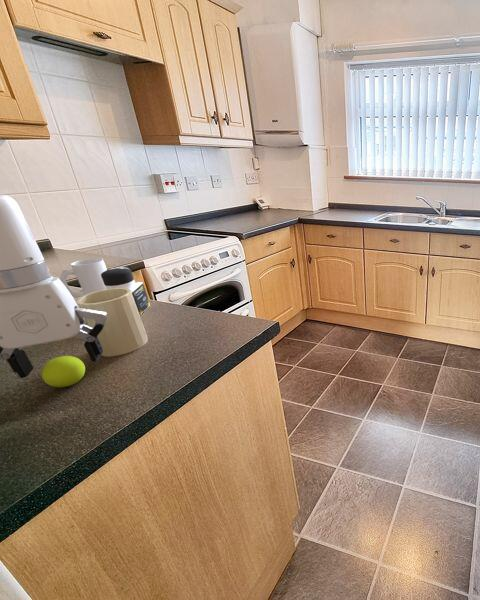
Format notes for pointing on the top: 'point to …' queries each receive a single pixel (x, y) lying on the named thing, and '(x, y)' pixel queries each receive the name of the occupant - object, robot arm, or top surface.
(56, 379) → the ball
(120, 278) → the medicine bottle
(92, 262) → the mug
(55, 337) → the robot arm
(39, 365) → the top surface
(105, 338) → the beige octagonal cup
